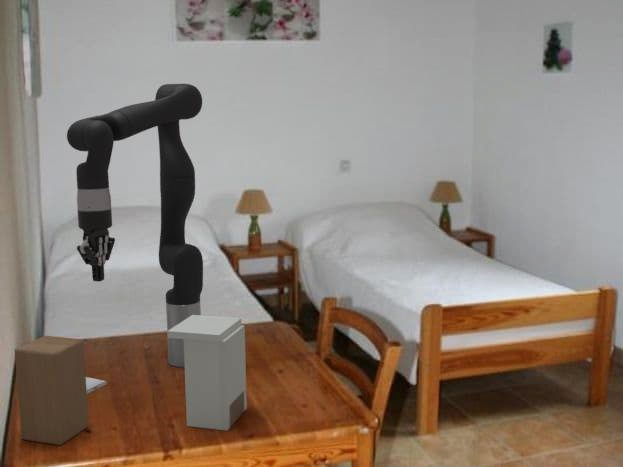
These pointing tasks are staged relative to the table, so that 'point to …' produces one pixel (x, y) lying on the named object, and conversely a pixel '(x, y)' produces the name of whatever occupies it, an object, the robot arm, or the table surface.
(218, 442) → the table surface
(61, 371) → the wooden block
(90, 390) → the hard drive
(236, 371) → the grey open cabinet
